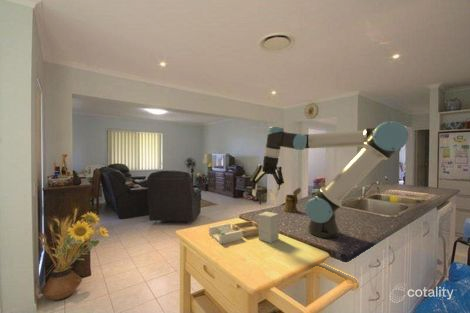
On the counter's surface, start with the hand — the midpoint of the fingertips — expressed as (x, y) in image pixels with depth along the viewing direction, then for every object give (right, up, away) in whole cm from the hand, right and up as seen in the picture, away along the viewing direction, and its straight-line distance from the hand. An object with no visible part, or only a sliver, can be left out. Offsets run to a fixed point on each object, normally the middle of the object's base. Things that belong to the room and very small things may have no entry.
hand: (264, 195), depth 119 cm
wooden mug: (+25, -19, +41) cm, 51 cm away
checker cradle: (-21, -20, -4) cm, 29 cm away
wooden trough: (-9, -20, +3) cm, 22 cm away
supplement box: (+1, -20, -8) cm, 22 cm away
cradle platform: (-21, -17, -4) cm, 27 cm away
